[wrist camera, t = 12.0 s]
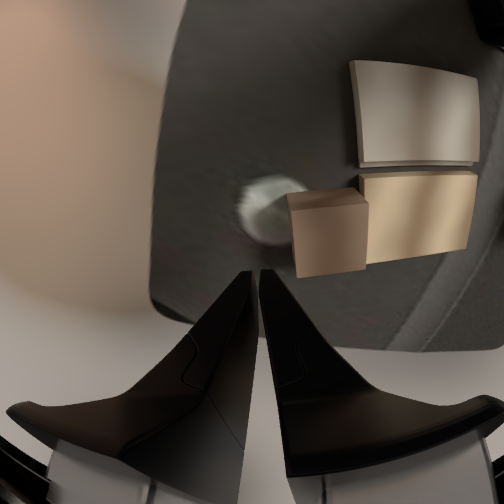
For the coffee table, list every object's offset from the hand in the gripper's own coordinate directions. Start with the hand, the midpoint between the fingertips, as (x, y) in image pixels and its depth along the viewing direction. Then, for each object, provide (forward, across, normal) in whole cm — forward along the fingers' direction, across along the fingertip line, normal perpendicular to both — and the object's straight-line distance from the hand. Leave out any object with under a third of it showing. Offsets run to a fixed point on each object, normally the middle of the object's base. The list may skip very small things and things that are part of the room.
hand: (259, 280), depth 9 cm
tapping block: (+12, -4, +4) cm, 13 cm away
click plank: (+12, -12, +4) cm, 17 cm away
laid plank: (+12, -12, -4) cm, 18 cm away
